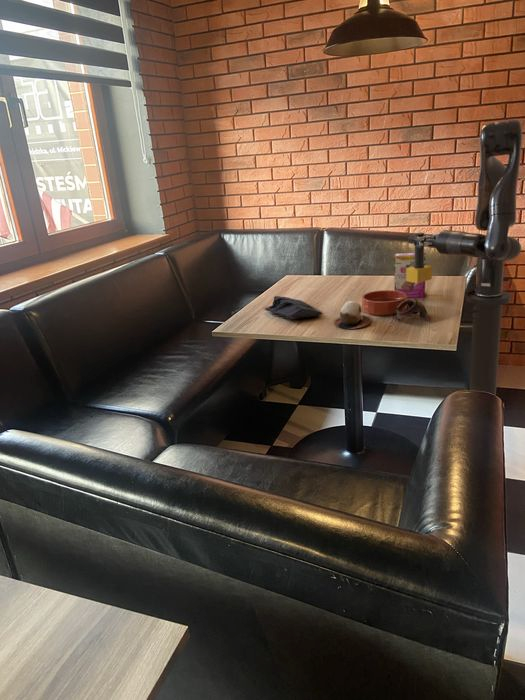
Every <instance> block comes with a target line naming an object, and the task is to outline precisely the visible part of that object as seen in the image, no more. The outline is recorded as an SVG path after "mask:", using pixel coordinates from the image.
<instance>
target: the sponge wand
mask: <svg viewBox="0 0 525 700" xmlns="http://www.w3.org/2000/svg"><path fill="white" fill-rule="evenodd" d="M424 235H425V233H424V232H415V233H414V237H422V236H424ZM414 253H415V264H414V267H410V268H406V281H408V282H413V283H420V282H424V281H425V282H427V281H430V280H432V278H433V277H432V275H433V274H432V273H433V266H432V265H426V264H425V265H424V253H425V247H424V248H423V249H421V248H419V247H416V246H414Z"/></svg>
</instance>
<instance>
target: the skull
mask: <svg viewBox="0 0 525 700" xmlns="http://www.w3.org/2000/svg"><path fill="white" fill-rule="evenodd" d="M362 313H363V310H362V305H361V304H360V303H359V302H357V301H354V300H348V301H346V302H345V303H344V304H343V306H342V307H341V309H340V311H339V318H337V319H336V320H335V321H334V325H335V326H336V327H338V328H340V329H348V330H352V329H359V328H363V327H366V326H368V325H369V324H371V322H372V319H371V318H370V316H367V315H364V314H363V315H362Z"/></svg>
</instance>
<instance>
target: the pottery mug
mask: <svg viewBox="0 0 525 700" xmlns="http://www.w3.org/2000/svg"><path fill="white" fill-rule="evenodd" d="M406 305H407V309H406V310H404V311H402V312H400V310H401V309H402V308H403V307H404V306H406ZM396 312H397V314H396V318H397V321H400V320H406V319H409V318H412V319H413V318H415V317H414V315H418V314H419V317H420V318H425V321H426V322H429V320H430V319H429V314H428V310H427V309H426V307H425V305H424V304H423V303H422V302H421V301H418V300H417V298H407V300H405V301H403V302H402V303H401V304H400V305H399V306H398V307H397V311H396ZM400 322H401V321H400Z"/></svg>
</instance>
